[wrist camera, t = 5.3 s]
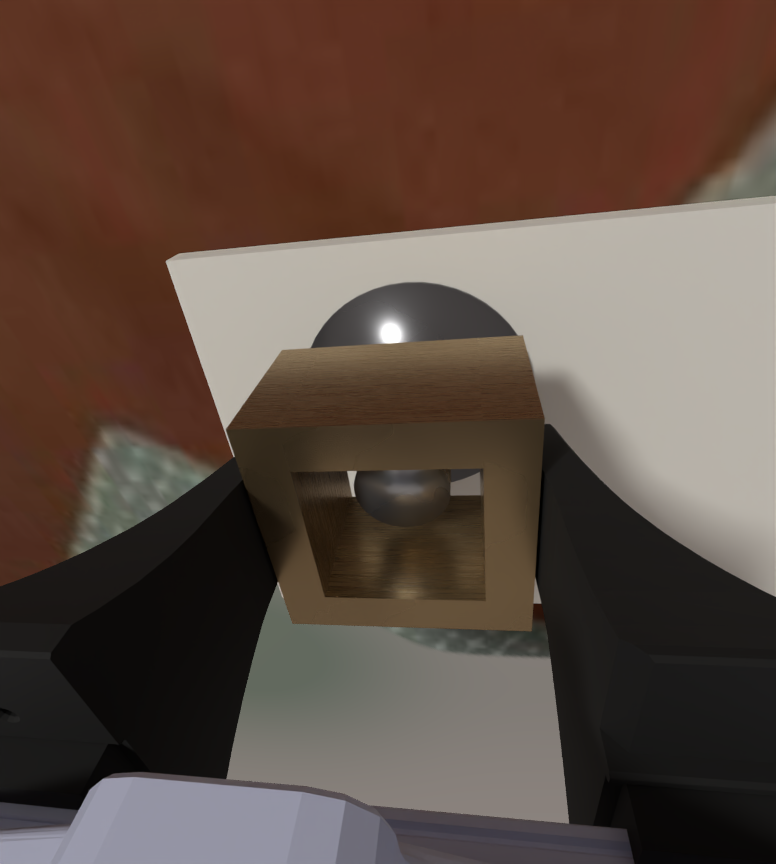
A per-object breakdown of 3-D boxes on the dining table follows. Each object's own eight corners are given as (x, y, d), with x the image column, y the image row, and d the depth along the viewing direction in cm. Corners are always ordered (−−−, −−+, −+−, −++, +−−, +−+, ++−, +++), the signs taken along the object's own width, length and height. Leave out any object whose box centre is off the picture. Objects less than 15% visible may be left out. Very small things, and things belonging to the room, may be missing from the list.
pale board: (1116, 163, 11) (1158, 167, 10) (862, 592, 18) (877, 611, 18) (179, 253, 14) (165, 260, 14) (287, 582, 22) (282, 597, 21)
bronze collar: (522, 335, 11) (544, 419, 8) (517, 521, 14) (531, 630, 11) (282, 350, 12) (225, 429, 9) (324, 522, 15) (292, 623, 12)
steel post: (538, 271, 13) (570, 343, 9) (528, 481, 16) (549, 593, 13) (282, 292, 14) (217, 363, 10) (327, 484, 18) (291, 588, 14)
